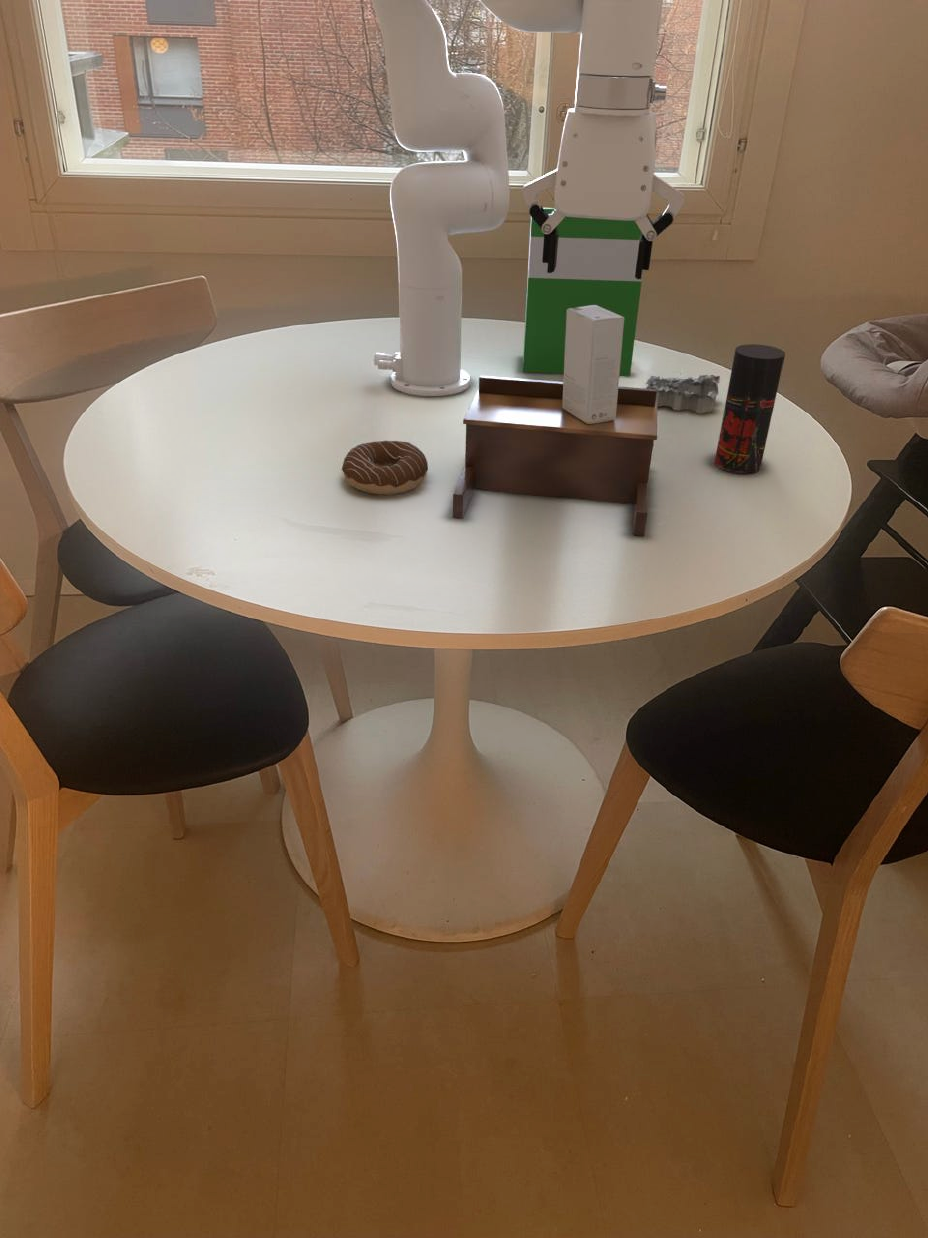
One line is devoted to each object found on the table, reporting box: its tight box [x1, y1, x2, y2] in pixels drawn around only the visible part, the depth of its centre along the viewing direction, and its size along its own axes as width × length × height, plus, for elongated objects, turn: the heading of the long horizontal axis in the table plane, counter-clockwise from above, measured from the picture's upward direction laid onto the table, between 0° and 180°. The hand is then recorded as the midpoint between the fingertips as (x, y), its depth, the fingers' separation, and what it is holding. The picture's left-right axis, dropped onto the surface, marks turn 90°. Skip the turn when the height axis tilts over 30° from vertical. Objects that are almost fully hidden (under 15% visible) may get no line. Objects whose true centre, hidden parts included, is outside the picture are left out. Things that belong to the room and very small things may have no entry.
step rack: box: [452, 375, 658, 537], centre depth 108 cm, size 23×18×11 cm
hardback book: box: [522, 207, 644, 377], centre depth 145 cm, size 18×7×24 cm, turn 87°
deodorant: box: [714, 343, 786, 475], centre depth 115 cm, size 6×6×15 cm
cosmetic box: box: [562, 305, 624, 424], centre depth 105 cm, size 6×4×12 cm
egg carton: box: [645, 374, 721, 415], centre depth 137 cm, size 11×8×4 cm
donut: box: [341, 440, 429, 495], centre depth 111 cm, size 11×11×4 cm
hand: (594, 273), depth 100 cm, fingers open, 9 cm apart
